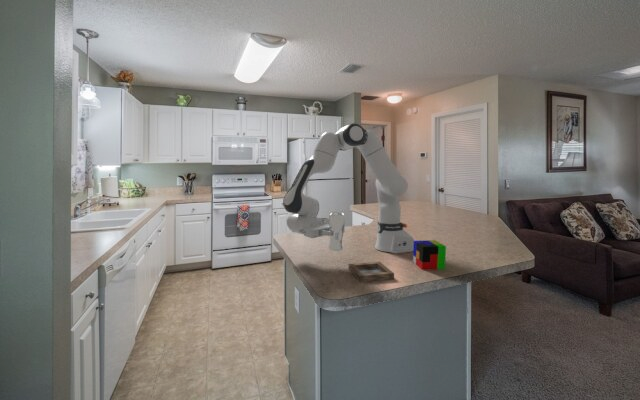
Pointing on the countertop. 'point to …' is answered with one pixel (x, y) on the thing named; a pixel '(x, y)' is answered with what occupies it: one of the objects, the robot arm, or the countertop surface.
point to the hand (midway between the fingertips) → (337, 232)
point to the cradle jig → (370, 271)
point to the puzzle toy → (429, 254)
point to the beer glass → (336, 230)
